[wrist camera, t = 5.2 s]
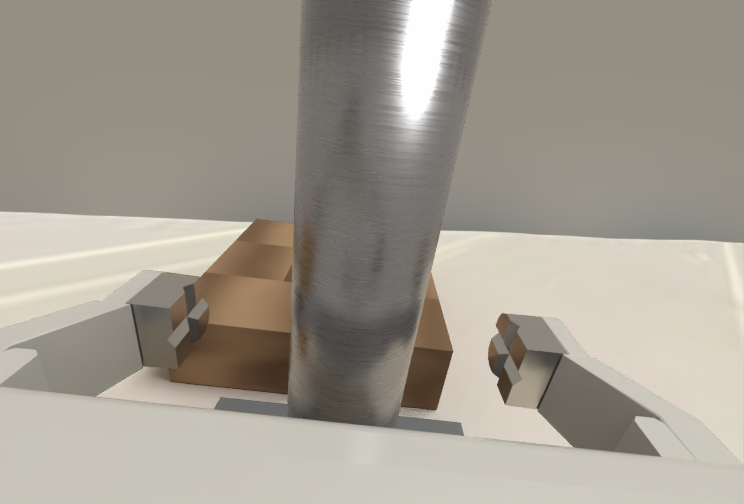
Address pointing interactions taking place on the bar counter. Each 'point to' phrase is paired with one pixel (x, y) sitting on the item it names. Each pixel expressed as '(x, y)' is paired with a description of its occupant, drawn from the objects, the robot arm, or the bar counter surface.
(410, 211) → the pin
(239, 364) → the hole block
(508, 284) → the bar counter surface
